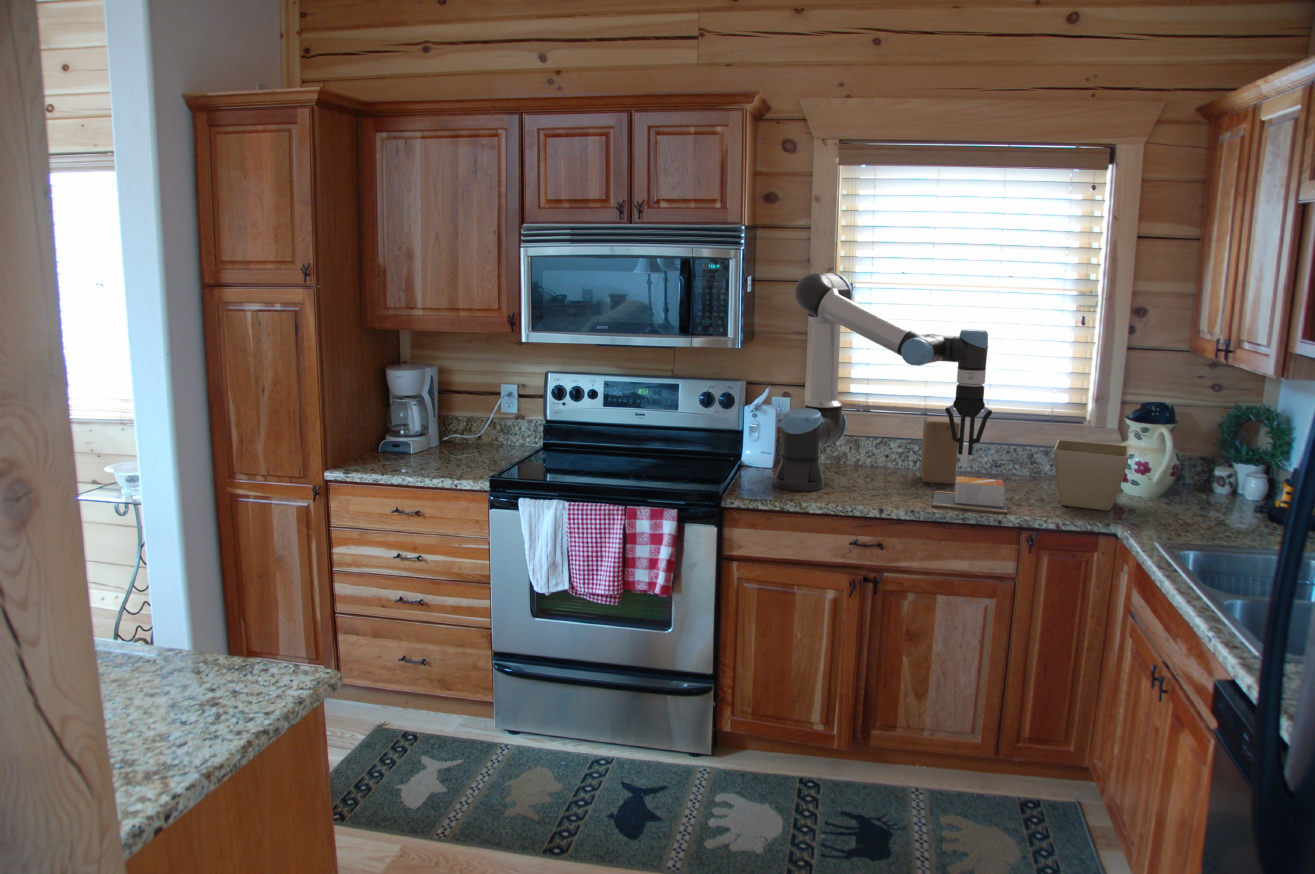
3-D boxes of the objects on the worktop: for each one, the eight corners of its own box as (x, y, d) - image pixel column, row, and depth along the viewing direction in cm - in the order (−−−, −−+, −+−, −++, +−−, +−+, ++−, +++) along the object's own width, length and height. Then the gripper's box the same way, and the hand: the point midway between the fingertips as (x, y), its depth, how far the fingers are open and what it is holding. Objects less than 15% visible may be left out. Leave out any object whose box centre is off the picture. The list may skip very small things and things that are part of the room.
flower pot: (1052, 492, 272) (1058, 438, 268) (1122, 500, 263) (1129, 445, 260) (1047, 507, 255) (1053, 449, 252) (1122, 516, 246) (1129, 457, 243)
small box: (955, 475, 261) (1002, 479, 258) (953, 496, 263) (1000, 500, 259) (956, 482, 254) (1005, 486, 250) (954, 503, 255) (1003, 507, 251)
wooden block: (955, 485, 279) (960, 422, 275) (922, 483, 281) (926, 420, 277) (951, 477, 288) (956, 417, 285) (919, 475, 290) (923, 415, 287)
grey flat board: (931, 507, 253) (932, 503, 253) (934, 493, 268) (934, 490, 268) (1007, 514, 247) (1007, 511, 247) (1005, 500, 261) (1005, 497, 261)
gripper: (945, 384, 250) (939, 466, 255) (995, 387, 246) (988, 470, 250) (946, 381, 257) (941, 461, 261) (994, 384, 253) (988, 464, 257)
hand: (964, 465), depth 256 cm, fingers closed
